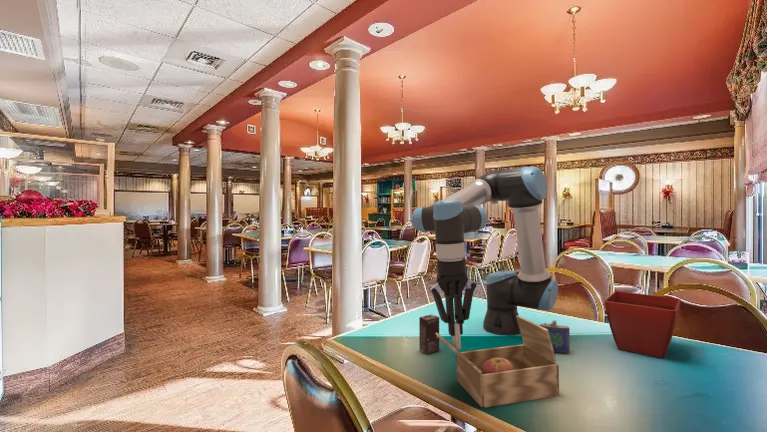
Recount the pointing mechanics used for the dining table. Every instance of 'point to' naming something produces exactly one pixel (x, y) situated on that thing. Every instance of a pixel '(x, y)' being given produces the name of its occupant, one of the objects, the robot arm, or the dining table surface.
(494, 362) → the apple
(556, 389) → the carton
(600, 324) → the dining table surface
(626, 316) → the plant pot
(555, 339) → the flask
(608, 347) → the dining table surface
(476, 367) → the flap
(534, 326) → the flap
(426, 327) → the box
